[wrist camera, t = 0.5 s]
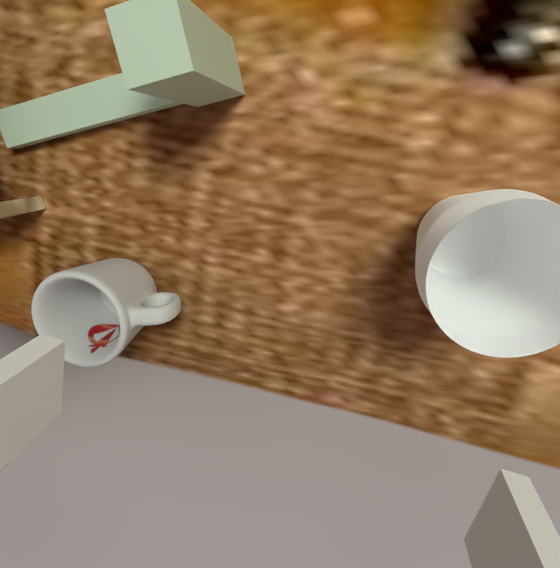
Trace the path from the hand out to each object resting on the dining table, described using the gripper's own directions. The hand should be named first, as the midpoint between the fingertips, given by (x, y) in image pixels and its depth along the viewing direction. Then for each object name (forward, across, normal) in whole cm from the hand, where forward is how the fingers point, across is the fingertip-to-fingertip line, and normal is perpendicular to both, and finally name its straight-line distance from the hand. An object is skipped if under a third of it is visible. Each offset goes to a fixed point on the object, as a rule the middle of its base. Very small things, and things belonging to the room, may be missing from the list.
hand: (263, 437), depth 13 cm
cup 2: (+25, +10, +3) cm, 27 cm away
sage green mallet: (+25, -19, +7) cm, 32 cm away
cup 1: (+25, -15, -8) cm, 30 cm away
